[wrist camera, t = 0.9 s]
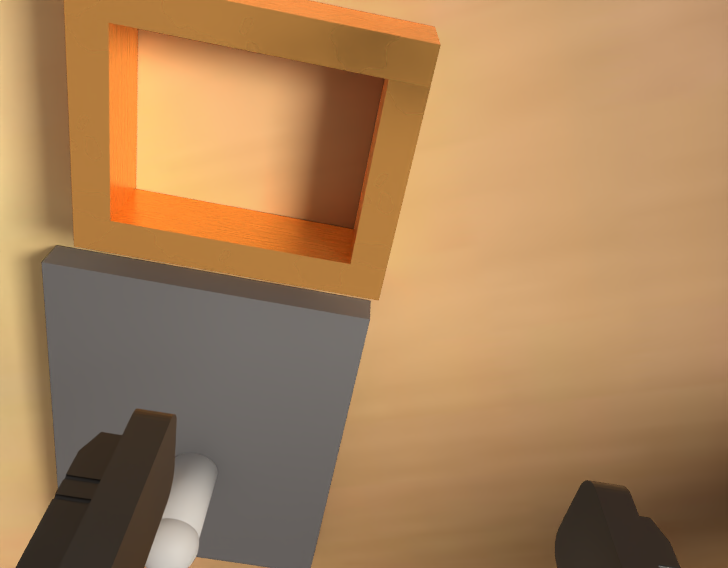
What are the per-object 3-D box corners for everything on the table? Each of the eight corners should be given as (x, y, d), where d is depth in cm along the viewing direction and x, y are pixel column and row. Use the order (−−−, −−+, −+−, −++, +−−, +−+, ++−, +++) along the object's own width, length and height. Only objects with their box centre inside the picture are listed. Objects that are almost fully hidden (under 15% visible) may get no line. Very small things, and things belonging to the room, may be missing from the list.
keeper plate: (370, 300, 30) (366, 410, 24) (311, 550, 40) (298, 676, 33) (56, 245, 29) (-33, 345, 23) (72, 515, 39) (11, 638, 32)
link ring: (434, 26, 24) (440, 44, 22) (379, 263, 29) (378, 300, 27) (98, -44, 23) (62, -34, 21) (102, 212, 28) (73, 246, 26)
